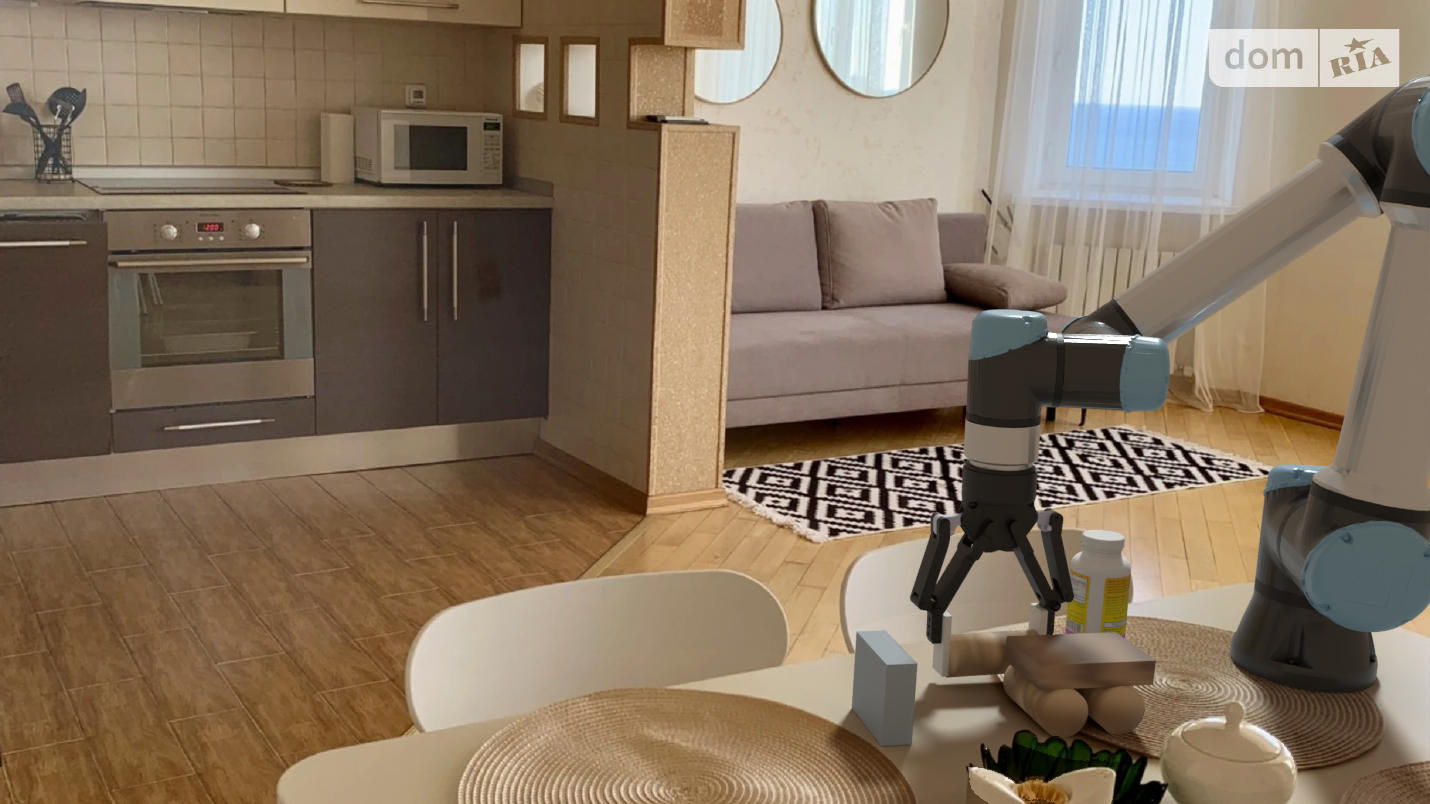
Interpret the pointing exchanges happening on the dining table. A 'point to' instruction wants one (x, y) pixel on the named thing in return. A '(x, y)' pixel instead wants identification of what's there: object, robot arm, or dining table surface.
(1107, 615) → the supplement bottle
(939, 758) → the dining table surface
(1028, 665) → the walnut board
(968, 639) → the roller
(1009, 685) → the roller
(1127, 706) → the roller
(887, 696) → the block
